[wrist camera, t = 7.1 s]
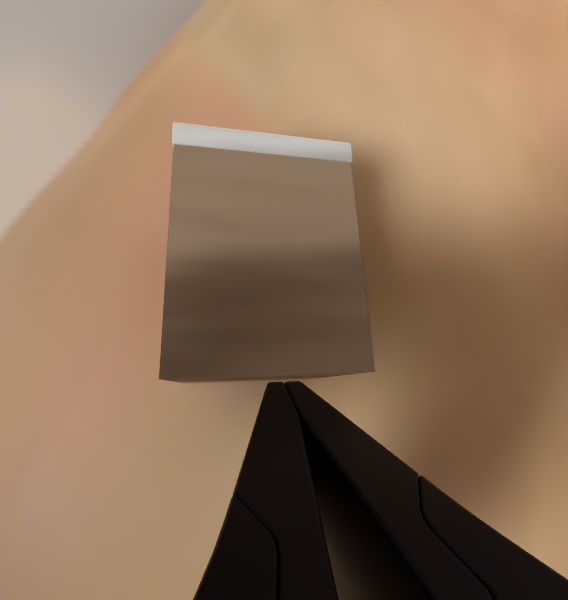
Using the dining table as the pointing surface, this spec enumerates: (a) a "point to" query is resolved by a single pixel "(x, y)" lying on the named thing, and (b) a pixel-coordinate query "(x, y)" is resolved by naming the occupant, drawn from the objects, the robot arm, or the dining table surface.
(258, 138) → the polished metal block
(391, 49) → the dining table surface
